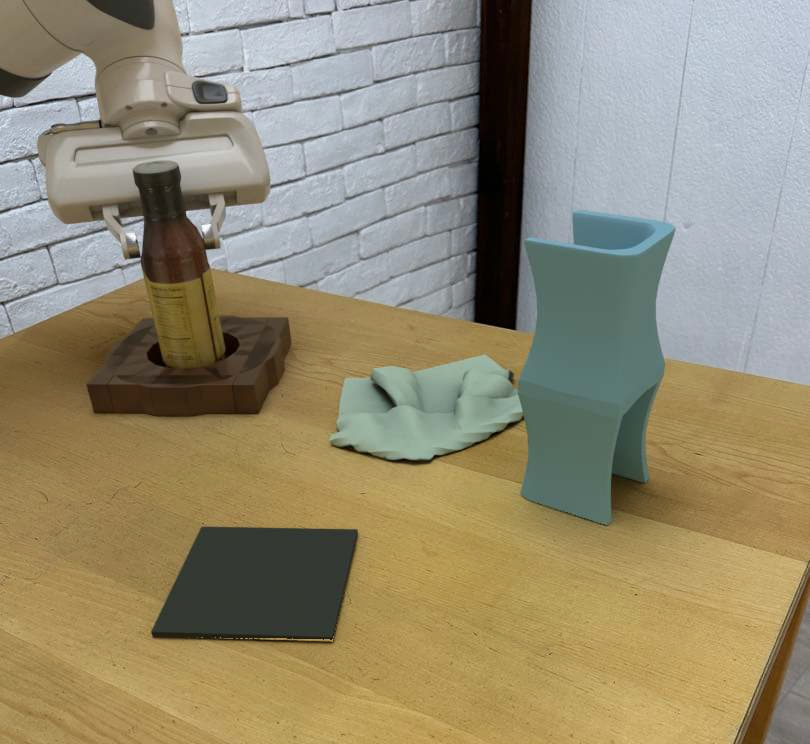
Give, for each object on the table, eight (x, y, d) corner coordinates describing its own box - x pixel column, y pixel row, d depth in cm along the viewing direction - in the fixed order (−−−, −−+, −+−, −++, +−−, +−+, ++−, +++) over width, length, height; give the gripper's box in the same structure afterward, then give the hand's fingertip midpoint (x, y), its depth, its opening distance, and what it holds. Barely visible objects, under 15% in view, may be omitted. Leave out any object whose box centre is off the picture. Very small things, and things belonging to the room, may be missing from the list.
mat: (152, 637, 59) (150, 631, 59) (202, 531, 69) (201, 526, 69) (332, 642, 58) (332, 636, 58) (358, 534, 68) (357, 528, 67)
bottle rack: (85, 415, 85) (77, 386, 84) (144, 342, 99) (138, 315, 97) (262, 416, 84) (258, 387, 82) (297, 341, 97) (294, 314, 96)
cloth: (306, 459, 77) (303, 435, 76) (357, 352, 94) (356, 331, 93) (549, 470, 74) (550, 444, 72) (555, 357, 91) (557, 335, 90)
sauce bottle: (198, 353, 95) (163, 152, 83) (241, 366, 92) (211, 160, 80) (150, 376, 91) (106, 167, 79) (193, 391, 88) (154, 176, 76)
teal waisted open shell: (561, 452, 76) (577, 208, 64) (649, 478, 72) (684, 223, 61) (514, 496, 71) (522, 239, 59) (607, 526, 67) (635, 258, 55)
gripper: (25, 104, 81) (48, 247, 78) (254, 85, 84) (281, 221, 82) (42, 147, 87) (63, 280, 85) (254, 127, 90) (280, 254, 88)
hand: (173, 251), depth 83 cm, fingers closed on sauce bottle, 6 cm apart
